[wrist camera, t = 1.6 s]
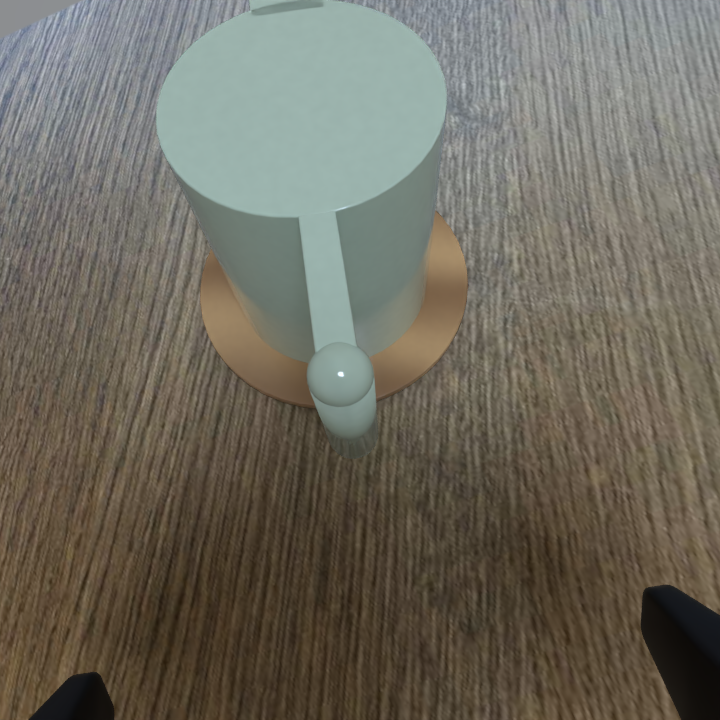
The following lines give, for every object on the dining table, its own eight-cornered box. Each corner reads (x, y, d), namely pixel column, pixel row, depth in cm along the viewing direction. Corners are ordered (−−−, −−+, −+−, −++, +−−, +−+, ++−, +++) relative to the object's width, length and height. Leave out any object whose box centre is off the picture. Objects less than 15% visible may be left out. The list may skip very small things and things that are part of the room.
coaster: (483, 400, 23) (485, 396, 23) (194, 418, 24) (190, 415, 23) (450, 170, 28) (451, 164, 28) (209, 187, 28) (207, 182, 28)
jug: (232, 193, 28) (150, -19, 18) (403, 168, 28) (410, -57, 18) (254, 502, 22) (150, 424, 12) (471, 468, 22) (532, 365, 12)
